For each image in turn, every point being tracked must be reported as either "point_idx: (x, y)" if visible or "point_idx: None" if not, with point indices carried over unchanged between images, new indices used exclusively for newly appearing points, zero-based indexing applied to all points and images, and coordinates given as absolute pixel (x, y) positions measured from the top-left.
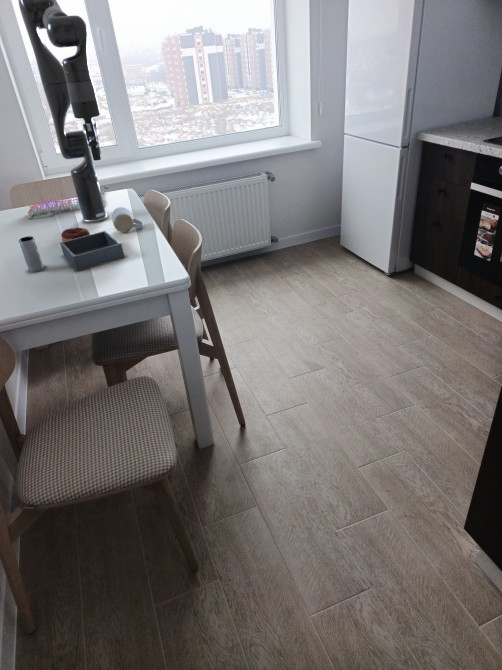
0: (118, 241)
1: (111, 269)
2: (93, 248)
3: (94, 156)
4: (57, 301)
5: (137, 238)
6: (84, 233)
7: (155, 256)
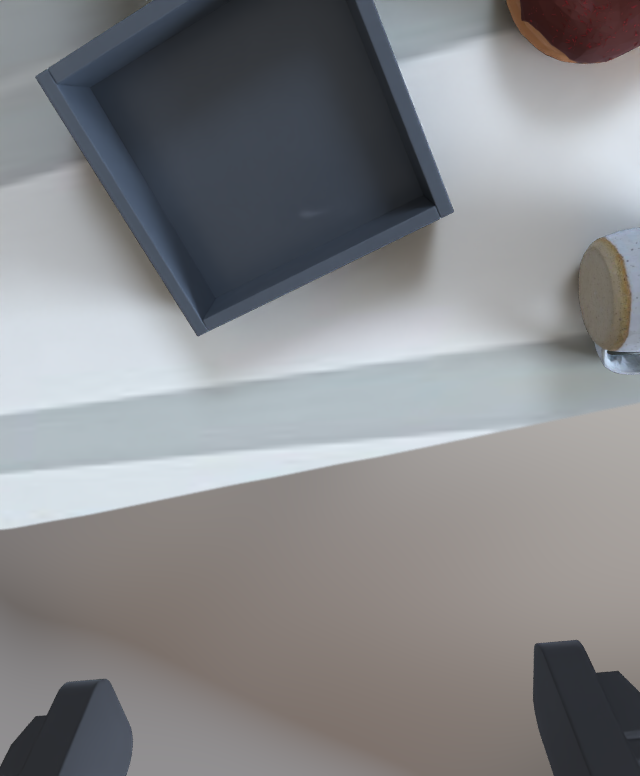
0: (234, 317)
1: (78, 265)
2: (381, 120)
3: (9, 761)
4: None
5: (458, 349)
6: (559, 36)
7: (195, 438)
